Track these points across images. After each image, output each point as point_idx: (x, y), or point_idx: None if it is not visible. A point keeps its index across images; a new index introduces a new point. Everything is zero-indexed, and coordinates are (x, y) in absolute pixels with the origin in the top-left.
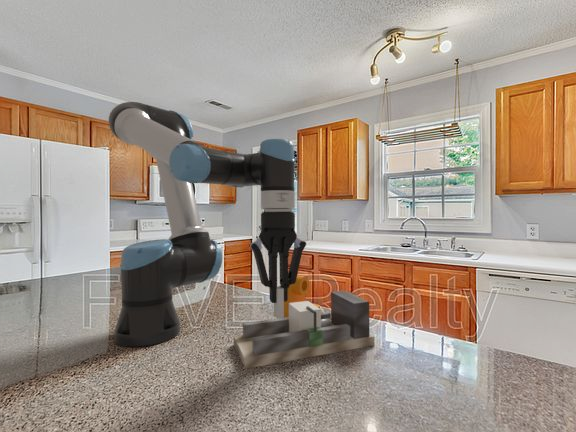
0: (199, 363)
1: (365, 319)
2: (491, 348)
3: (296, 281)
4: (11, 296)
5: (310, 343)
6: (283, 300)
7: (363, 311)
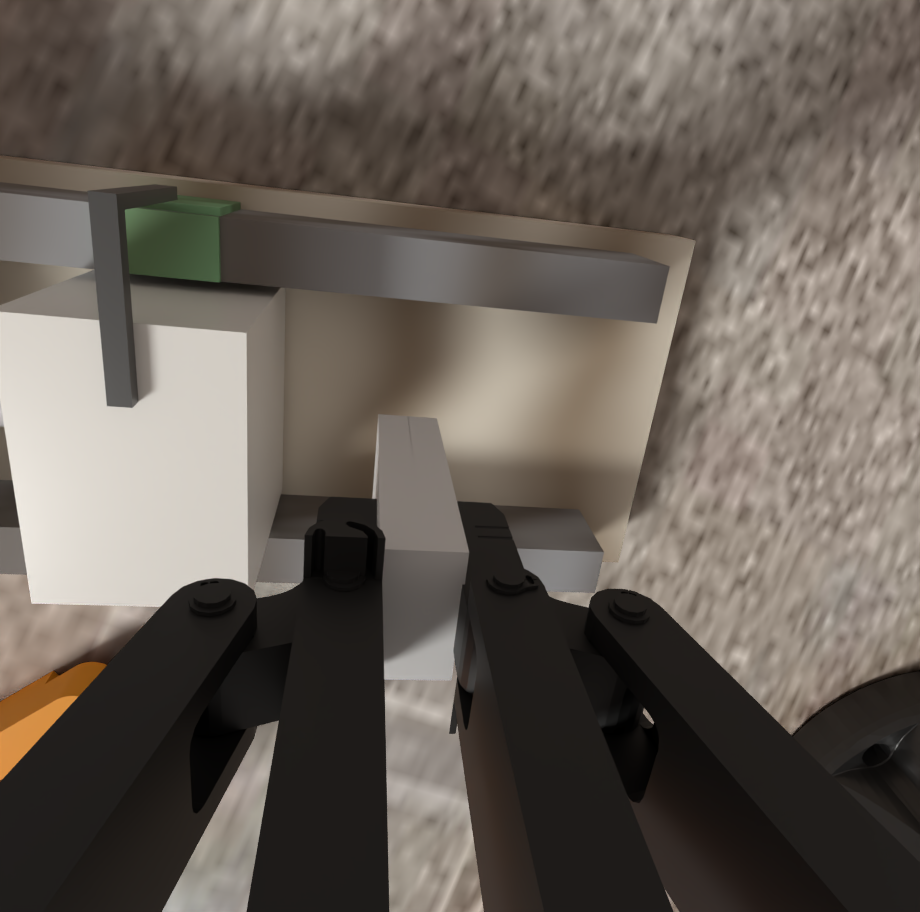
0: (830, 406)
1: None
2: None
3: None
4: None
5: (229, 202)
6: (383, 479)
7: None
